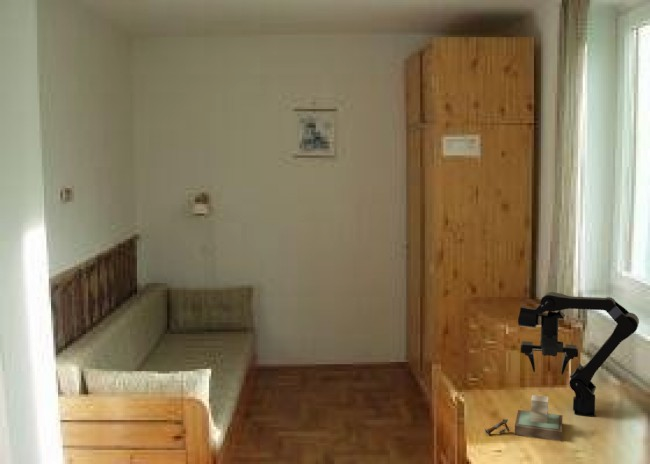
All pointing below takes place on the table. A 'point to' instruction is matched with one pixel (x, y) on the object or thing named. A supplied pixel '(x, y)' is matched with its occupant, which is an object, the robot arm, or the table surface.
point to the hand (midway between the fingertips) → (548, 373)
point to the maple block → (539, 409)
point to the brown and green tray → (538, 426)
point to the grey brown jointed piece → (498, 427)
